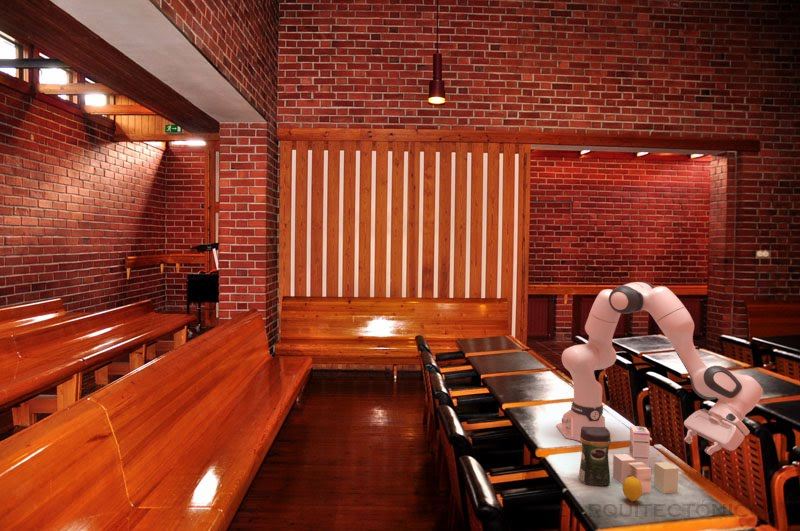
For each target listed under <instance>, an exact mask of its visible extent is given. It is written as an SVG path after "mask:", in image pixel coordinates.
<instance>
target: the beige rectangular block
mask: <svg viewBox="0 0 800 531" xmlns="http://www.w3.org/2000/svg"><path fill="white" fill-rule="evenodd" d="M653 468H654V471H653V487H654V488H656V489H657V490H658V491H660V492H661V493H662V494H670V493H671V494H672V492H675V493H678V492H679V491H678V488H679V487H678V486H679V467H677V466H675V465H674V464H672V463H671V462H669V461H664V462H654V467H653Z"/></svg>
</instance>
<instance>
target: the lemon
mask: <svg viewBox="0 0 800 531" xmlns="http://www.w3.org/2000/svg"><path fill="white" fill-rule="evenodd" d="M622 493H623V495H624V496H625V498H626V499H628V500H629V501H630V502H632V501H633V502H634V501H638V500H639V499H640V498H641V496H642V495H643V493H642V486H641V483H640V481H639V480H638V479H637V478H635V477H634V476H631V477H628V478H626V479H625V481H624V483H623V484H622Z"/></svg>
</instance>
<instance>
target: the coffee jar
mask: <svg viewBox="0 0 800 531" xmlns="http://www.w3.org/2000/svg"><path fill="white" fill-rule="evenodd" d="M610 433H611V432H610V431H609V429H608V428H607V427H606V426H605V427H585V426H583V427H582V428H581V434H580V440H581V441H580V442H581V457H580V465H579V474H578V475H579V476H578V477H579V479H580V481H581V482H582V483H584V484H586V485H589V486H590V485H591V486H608V485H609V484H611V483H610V482H611V475H610V474H611V473H610V463H609V448H610V445H611V434H610Z"/></svg>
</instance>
